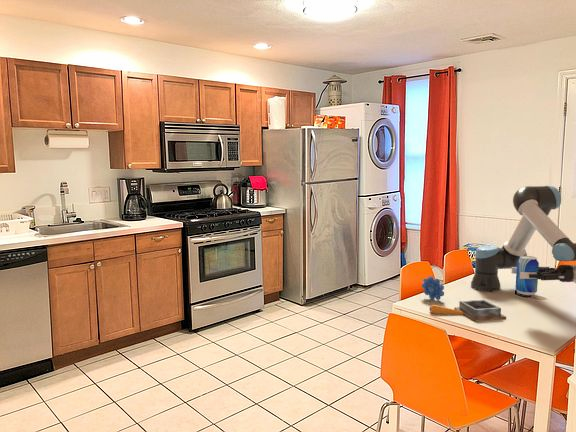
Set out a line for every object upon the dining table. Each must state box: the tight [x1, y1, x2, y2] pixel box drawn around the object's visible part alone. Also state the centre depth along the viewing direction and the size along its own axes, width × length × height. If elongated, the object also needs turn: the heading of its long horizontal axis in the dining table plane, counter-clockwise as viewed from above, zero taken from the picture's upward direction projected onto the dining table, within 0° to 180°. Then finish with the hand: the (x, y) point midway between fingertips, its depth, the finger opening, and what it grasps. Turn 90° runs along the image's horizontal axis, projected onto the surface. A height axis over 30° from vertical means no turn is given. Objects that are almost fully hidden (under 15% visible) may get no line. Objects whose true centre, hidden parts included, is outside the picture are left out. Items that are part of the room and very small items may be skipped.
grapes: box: [421, 275, 445, 301], centre depth 229 cm, size 12×7×12 cm, turn 55°
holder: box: [453, 299, 507, 322], centre depth 208 cm, size 16×16×4 cm
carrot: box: [429, 304, 464, 316], centre depth 208 cm, size 20×4×4 cm, turn 80°
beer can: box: [515, 255, 540, 296], centre depth 196 cm, size 8×8×16 cm
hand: (516, 272), depth 197 cm, fingers closed on beer can, 8 cm apart
